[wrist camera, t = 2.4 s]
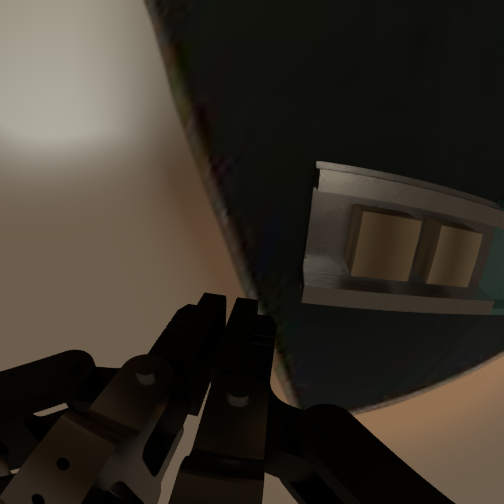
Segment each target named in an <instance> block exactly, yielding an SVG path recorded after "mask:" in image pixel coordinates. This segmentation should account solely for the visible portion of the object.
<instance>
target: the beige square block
mask: <svg viewBox="0 0 504 504" xmlns="http://www.w3.org/2000/svg"><path fill="white" fill-rule="evenodd" d="M421 224H422V221H421V220H419V219H417V218H416V217H414V216H412V215H410V214H409V213H405V212H400V211H395V210H389V209H383V208H378V207H372V206H365V205H359V204H354V209H353V216H352V222H351V228H350V233H349V239H348V244H347V250H346V255H345V260H344V261H345V264H346V266H347V268H348V270H349V273H350V275H351V276H360V277H369V278H379V279H388V280H398V281H407V280H408V277H409V273H410V270H411V266H412V262H413V258H414V255H415V251H416V247H417V242H418V238H419V234H420V229H421Z"/></svg>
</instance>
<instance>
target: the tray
mask: <svg viewBox="0 0 504 504" xmlns="http://www.w3.org/2000/svg"><path fill="white" fill-rule="evenodd" d="M497 203H498V204H500V207H499V209H501V210H503V211H504V200H501V199H498V198H497ZM479 287H480V288H481V289H482V290H483V291H485V292H486V293H487V294H488V295H489V296H490V297H491V298H492V299H493V300H494V301H495V302H494V305H493V307H492V310H491V312H490V314H489V315H504V229H501V228H498V227H495V231H494V235H493V239H492V243H491V247H490V251H489V255H488V258H487V261H486V265H485V268H484V271H483V274H482V277H481V280H480V283H479ZM480 315H484V314H480Z"/></svg>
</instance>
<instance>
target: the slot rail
mask: <svg viewBox="0 0 504 504" xmlns="http://www.w3.org/2000/svg"><path fill="white" fill-rule="evenodd" d="M354 204H359V205H365V206H372V207H378V208H383V209H389V210H395V211H400V212H405V213H409V214H410V215H412V216H414V217H416V218H417V219H419V220H421V221H422V224H421V229H420V234H419V238H418V242H417V247H416V251H415V255H414V258H413V262H412V266H411V270H410V273H409V277H408V280H407V281H398V280H388V279H379V278H369V277H360V276H351V275H350V273H349V270H348V268H347V266H346V264H345V261H344V260H345V255H346V250H347V244H348V239H349V233H350V228H351V222H352V216H353V209H354ZM499 207H500V204H498V203H495V202H493V201H490V200H487V199H484V198H481V197H478V196H475V195H471V194H468V193H465V192H462V191H458V190H455V189H451V188H448V187H444V186H441V185H437V184H433V183H429V182H425V181H421V180H417V179H413V178H409V177H404V176H400V175H395V174H390V173H386V172H381V171H376V170H370V169H365V168H359V167H354V166H348V165H341V164H335V163H328V162H321V161H315V170H314V179H313V188H312V197H311V205H310V214H309V221H308V229H307V236H306V243H305V250H304V257H303V264H302V270H301V277H300V288H301V303H310V304H319V305H329V306H340V307H351V308H363V309H375V310H389V311H405V312H423V313H445V314H484V315H489V314H490V312H491V310H492V307H493V305H494V302H495V301H494V300H493V299H492V298H491V297H490V296H489V295H488V294H487V293H486V292H485V291H483V290H482V289H481V288H480V287H479V283H480V280H481V277H482V274H483V271H484V268H485V265H486V261H487V258H488V255H489V251H490V247H491V243H492V239H493V235H494V231H495V227H498V228H501V229H504V211H503V210H501V209H499ZM426 217H431V218H435V219H440V220H445V221H449V222H454V223H458V224H462V225H466V226H468V227H470V228H472V229H474V230H476V231H477V232H479V233H481V234H483V237H482V241H481V244H480V248H479V252H478V255H477V259H476V262H475V266H474V269H473V272H472V275H471V278H470V281H469V284H468V287H458V286H448V285H437V284H427V283H426V282H425V281H424V280H423V279H422V278H421V277H420V276H419V275H418V273H417V272H416V271H415V270H414V266H415V263H416V259H417V255H418V251H419V247H420V243H421V239H422V234H423V230H424V225H425V220H426Z"/></svg>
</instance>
